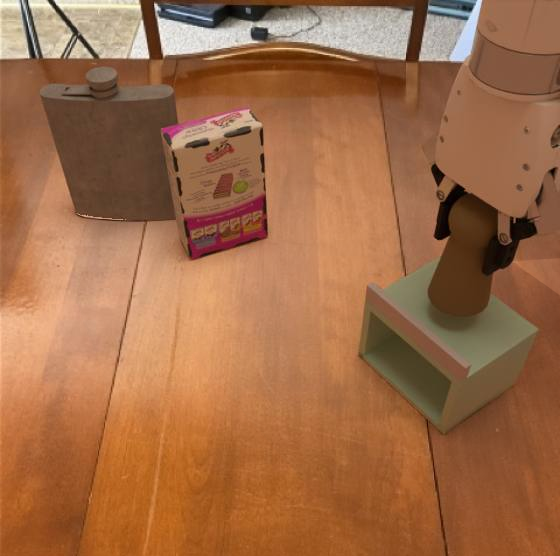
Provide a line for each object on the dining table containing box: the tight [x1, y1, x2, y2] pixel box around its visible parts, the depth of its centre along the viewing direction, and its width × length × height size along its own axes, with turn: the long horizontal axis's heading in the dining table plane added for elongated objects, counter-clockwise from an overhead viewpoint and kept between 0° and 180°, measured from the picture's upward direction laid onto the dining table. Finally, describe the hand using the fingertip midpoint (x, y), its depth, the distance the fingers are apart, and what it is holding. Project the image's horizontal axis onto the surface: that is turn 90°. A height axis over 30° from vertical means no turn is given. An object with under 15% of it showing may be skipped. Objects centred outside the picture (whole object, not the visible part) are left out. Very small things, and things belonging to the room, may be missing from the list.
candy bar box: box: [160, 106, 269, 260], centre depth 84 cm, size 11×5×16 cm, turn 114°
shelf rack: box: [357, 255, 540, 436], centre depth 71 cm, size 11×14×11 cm
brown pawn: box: [427, 192, 498, 317], centre depth 63 cm, size 6×6×11 cm
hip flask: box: [39, 66, 179, 222], centre depth 86 cm, size 16×4×20 cm, turn 88°
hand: (471, 249), depth 62 cm, fingers closed on brown pawn, 5 cm apart
